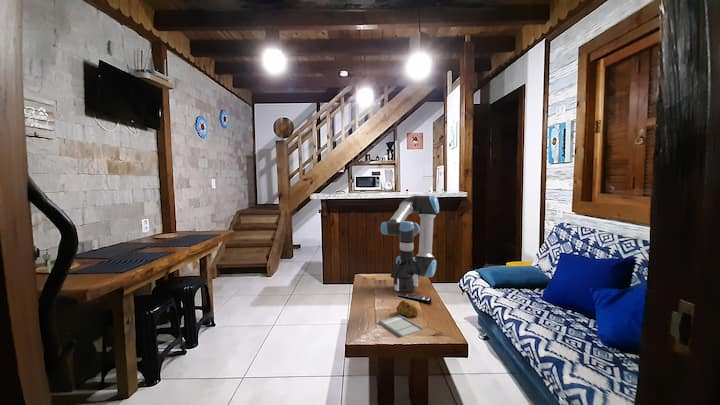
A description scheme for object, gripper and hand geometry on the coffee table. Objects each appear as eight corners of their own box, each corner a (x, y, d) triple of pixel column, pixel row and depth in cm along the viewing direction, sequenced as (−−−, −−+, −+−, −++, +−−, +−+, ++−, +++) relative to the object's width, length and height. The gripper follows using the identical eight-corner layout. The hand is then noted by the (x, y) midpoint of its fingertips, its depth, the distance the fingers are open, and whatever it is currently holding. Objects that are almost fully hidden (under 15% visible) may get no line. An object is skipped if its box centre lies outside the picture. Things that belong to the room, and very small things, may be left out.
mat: (399, 316, 166) (399, 314, 166) (422, 329, 151) (422, 327, 151) (378, 322, 159) (378, 320, 159) (400, 337, 144) (400, 334, 144)
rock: (407, 317, 174) (419, 306, 173) (409, 326, 166) (422, 314, 165) (393, 305, 173) (405, 293, 171) (394, 314, 165) (408, 301, 163)
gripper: (419, 246, 177) (418, 282, 178) (383, 251, 164) (384, 290, 165) (428, 248, 170) (428, 286, 171) (392, 253, 157) (392, 294, 158)
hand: (406, 288), depth 168 cm, fingers open, 13 cm apart
